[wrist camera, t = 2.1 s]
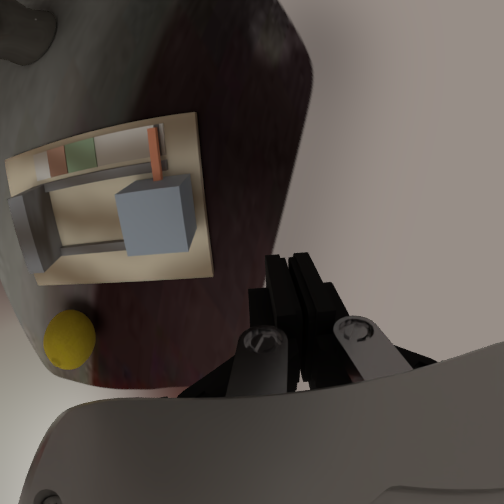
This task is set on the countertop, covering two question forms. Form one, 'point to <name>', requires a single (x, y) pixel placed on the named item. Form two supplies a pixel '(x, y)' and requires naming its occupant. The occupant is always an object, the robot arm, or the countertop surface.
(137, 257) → the gauge board
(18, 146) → the countertop surface
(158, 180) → the slider block with pointer
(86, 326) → the lemon
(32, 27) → the grey metal cup
